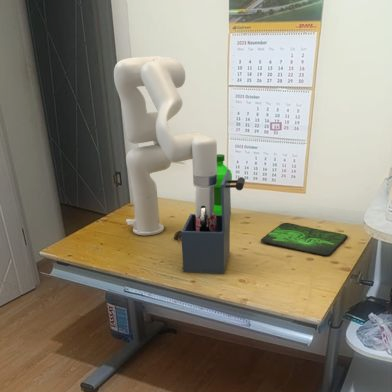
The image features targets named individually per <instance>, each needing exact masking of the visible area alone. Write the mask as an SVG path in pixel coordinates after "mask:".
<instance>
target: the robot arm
mask: <svg viewBox="0 0 392 392" xmlns="http://www.w3.org/2000/svg"><path fill="white" fill-rule="evenodd" d="M113 80H114V85H115V88H116V92H117V94H118V96H119V97H118V98H119V100H120V104H121V110H122V118H123V123H124V129H125V134H126V139H127V140H128V141H129V142H130V143H131V144H136V145H137V144H145V143H149V142H153V144H150V145H144V146H143V145H142V146H138V147H135V148H132V149H131V150H129V151H128V152H127V154H126V156H125V163H126V167H127V170H128V174H129V178H130V185H131V193H132V200H133V209H134V218H133V219H132V218H131V219H130V218H126V219H125V224H126V225H127V226H130V227H131V226H132V232H133V234H135V235H138V236H145V237H146V236H147V237H148V236H154V235H158V234H161V233H162V232H163V231H164V230H165V228H164V227H165V226H164V224H163V223H160V211H159V199H158V188H157V184H156V181H155V180H154V178H152V176H151V175H150V174H153V173H158V172H162V171H165V170H168V169H169V168H170V167H171V165H172V163H179V162H184V161H189V160H192V180H193V181H192V182H193V187H195V214H196V218H199V216H200V232H210V230H209V226H208V225H209V218H210V217H211V215H212V213H213V210H214V186H216V185H217V155H218V147H217V146H218V144H217V143H218V142H217V140H216V139H215V137H212V136H207V135H205V134H204V133H202V132H197V131H196V132H195V131H193V132H189V133H183V134H177V135H174V134H173V133H172V131H171V129H170V128H169V123H168V121H170V120H171V119H173V118H174V117H175V116H176V115H177V114H178V113H179V112H180V111H181V109H182V107H183V99H182V97H181V95H180V93H179V91H178V89H179V88H182V87H183V86H184V85H185V81H186V71H185V68H184V66H183V64H182V63H181V62H180V60H178V59H177V58H174V57H167V56H163V55H152V56H151V55H150V56H135V57H128V58H123V59H121V60H119V61H118V62H116V64H115V66H114V69H113ZM138 87H145V89H146V91H147V93H148V95H149V97H150V99H151V101H152V103H153V105H154V108H155V109H156V111H150V112H148V109H147V103H146V99H145V96H144V94H143V93H142V92H141V91H140V89H139V88H138ZM205 216H207V217H205ZM205 219H206V220H207V223H206V221H205Z"/></svg>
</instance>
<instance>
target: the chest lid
mask: <svg viewBox="0 0 392 392" xmlns="http://www.w3.org/2000/svg"><path fill="white" fill-rule="evenodd" d="M230 171H231V170H230V169H229V170H227V172H226V174H225V176H224V179H223V181H222V183H221V204H222V229H223V232H225V230H226V227H227V224H228V221H229V218H230V217H231V214H232V210H231V209H232V202H231V201H232V200H231V189H234V188H235V189H236V190H237V191H242V190H243V189H244V187H245V184H246V183H245V182H246V180H245V178H244V177H242V176H240V177H238V178H237V179H232V180H230ZM230 183H231V184H230ZM230 219H231V218H230Z"/></svg>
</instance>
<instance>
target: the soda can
mask: <svg viewBox="0 0 392 392" xmlns="http://www.w3.org/2000/svg"><path fill="white" fill-rule="evenodd" d="M205 217H207V216H205ZM205 221H206V223H207V220H206V219H205ZM208 226H209V230H210V232H217V218H216V216H215V212H214V211H213V213H212V215H211V217H210V218H209V225H208ZM196 231H200V216H199V218H196Z"/></svg>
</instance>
